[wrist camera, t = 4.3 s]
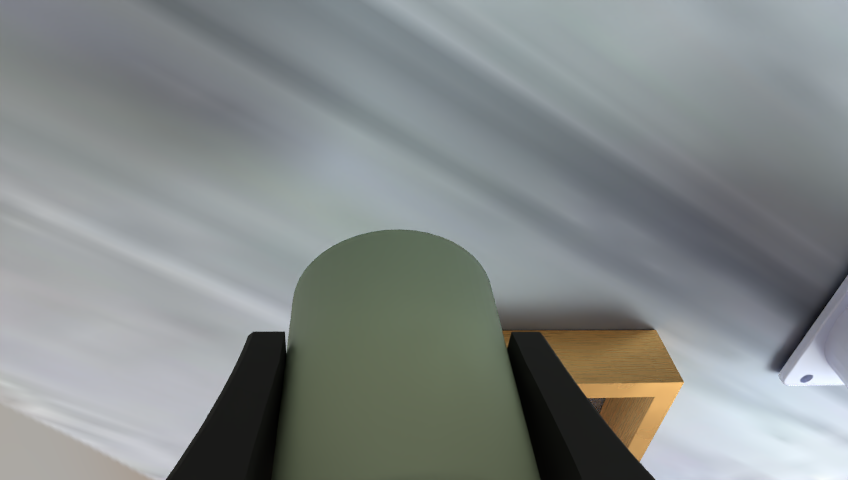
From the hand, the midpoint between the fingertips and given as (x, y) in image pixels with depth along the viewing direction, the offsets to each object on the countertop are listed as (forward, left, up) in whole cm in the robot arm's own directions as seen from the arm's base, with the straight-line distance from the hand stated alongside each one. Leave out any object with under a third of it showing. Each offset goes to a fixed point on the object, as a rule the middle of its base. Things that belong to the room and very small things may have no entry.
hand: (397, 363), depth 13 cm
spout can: (0, 0, -2) cm, 2 cm away
